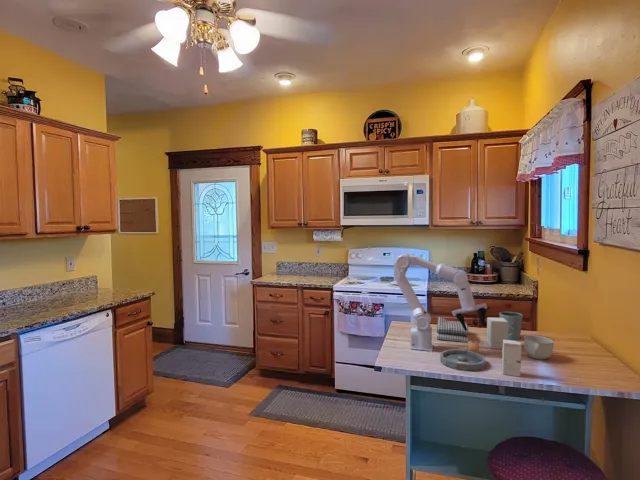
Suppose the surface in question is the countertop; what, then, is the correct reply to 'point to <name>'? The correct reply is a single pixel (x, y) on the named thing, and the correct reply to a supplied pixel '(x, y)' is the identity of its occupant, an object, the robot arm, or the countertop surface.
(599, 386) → the countertop surface
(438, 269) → the robot arm
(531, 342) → the teacup
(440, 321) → the towel
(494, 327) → the supplement box
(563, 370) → the countertop surface
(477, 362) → the groove tray
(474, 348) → the bead
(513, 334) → the green plant pot
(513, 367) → the skincare box
